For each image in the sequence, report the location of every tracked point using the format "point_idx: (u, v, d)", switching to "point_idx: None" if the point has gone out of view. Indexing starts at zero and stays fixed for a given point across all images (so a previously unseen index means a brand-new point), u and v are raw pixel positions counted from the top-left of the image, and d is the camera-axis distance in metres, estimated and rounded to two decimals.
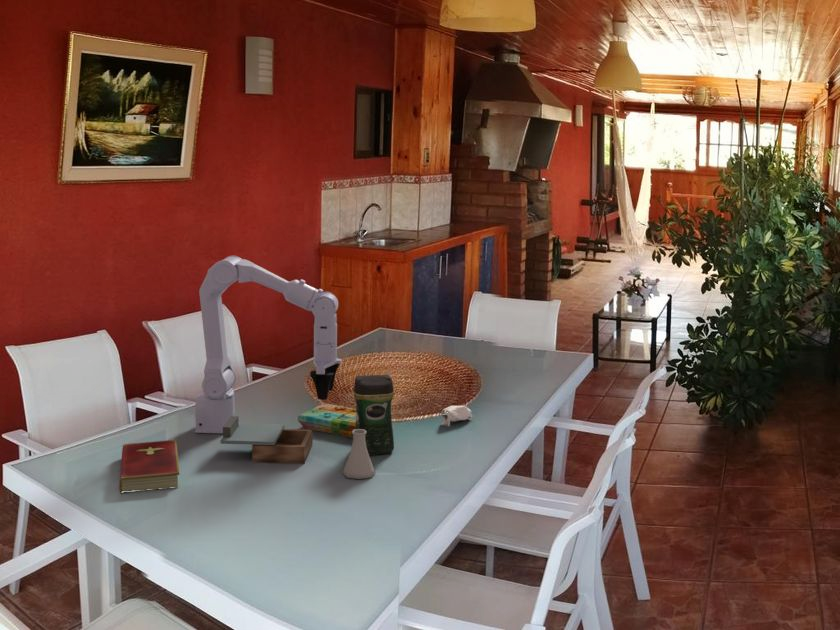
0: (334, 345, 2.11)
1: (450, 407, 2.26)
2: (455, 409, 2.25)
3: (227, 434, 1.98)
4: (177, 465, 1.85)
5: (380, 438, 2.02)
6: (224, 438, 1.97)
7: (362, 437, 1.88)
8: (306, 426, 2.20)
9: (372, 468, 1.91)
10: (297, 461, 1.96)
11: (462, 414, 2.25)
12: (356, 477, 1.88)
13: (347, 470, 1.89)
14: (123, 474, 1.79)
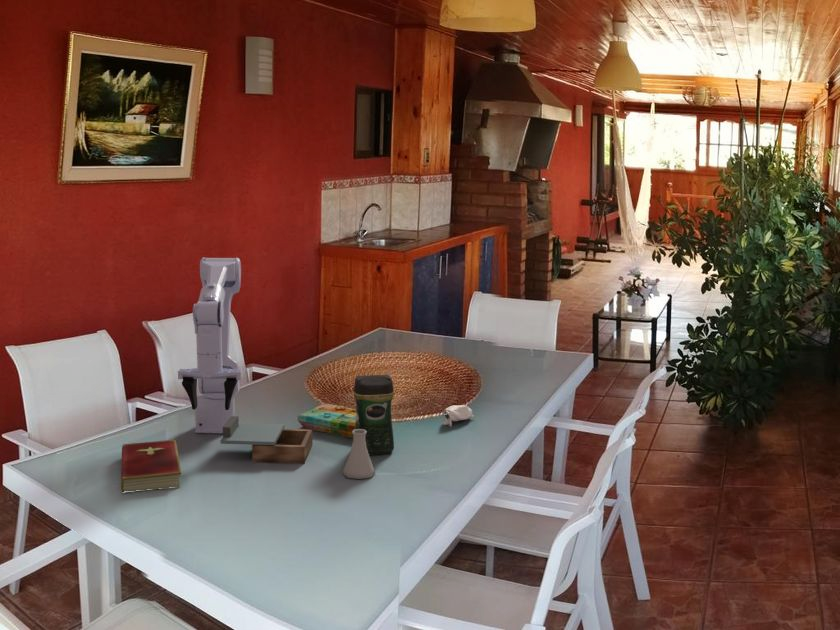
0: (201, 356, 1.96)
1: (451, 407, 2.26)
2: (456, 409, 2.25)
3: (227, 434, 1.98)
4: (178, 465, 1.85)
5: (380, 438, 2.02)
6: (224, 438, 1.97)
7: (362, 437, 1.88)
8: (306, 426, 2.20)
9: (372, 468, 1.91)
10: (297, 461, 1.96)
11: (463, 414, 2.26)
12: (356, 477, 1.88)
13: (347, 470, 1.89)
14: (125, 474, 1.79)
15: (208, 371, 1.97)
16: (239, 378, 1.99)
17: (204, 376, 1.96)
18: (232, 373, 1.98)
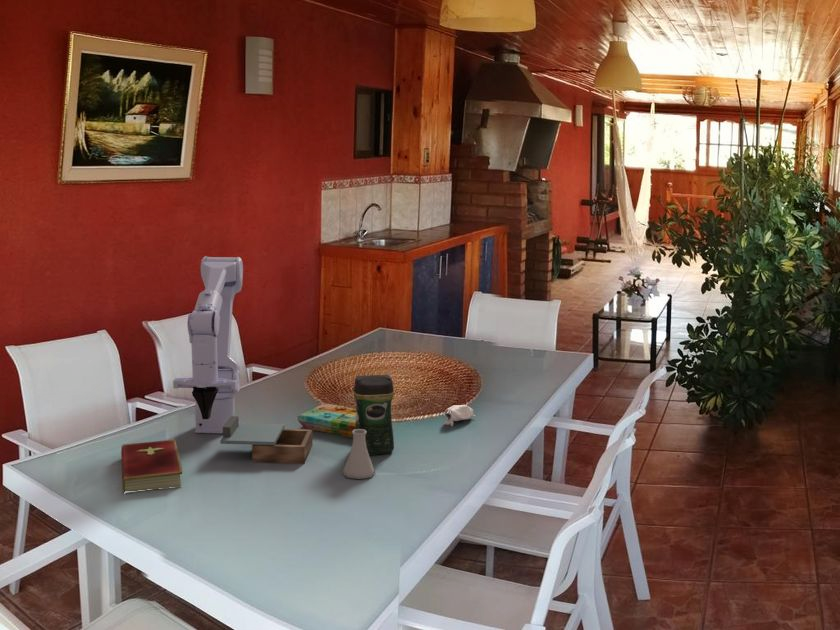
0: (196, 366, 1.96)
1: (453, 407, 2.26)
2: (458, 409, 2.25)
3: (227, 434, 1.98)
4: (179, 464, 1.85)
5: (380, 438, 2.02)
6: (224, 438, 1.97)
7: (362, 437, 1.88)
8: (306, 426, 2.20)
9: (372, 468, 1.91)
10: (297, 461, 1.96)
11: (464, 413, 2.26)
12: (356, 477, 1.88)
13: (347, 470, 1.89)
14: (126, 474, 1.79)
15: (203, 381, 1.96)
16: (234, 388, 1.99)
17: (198, 386, 1.96)
18: (227, 383, 1.98)
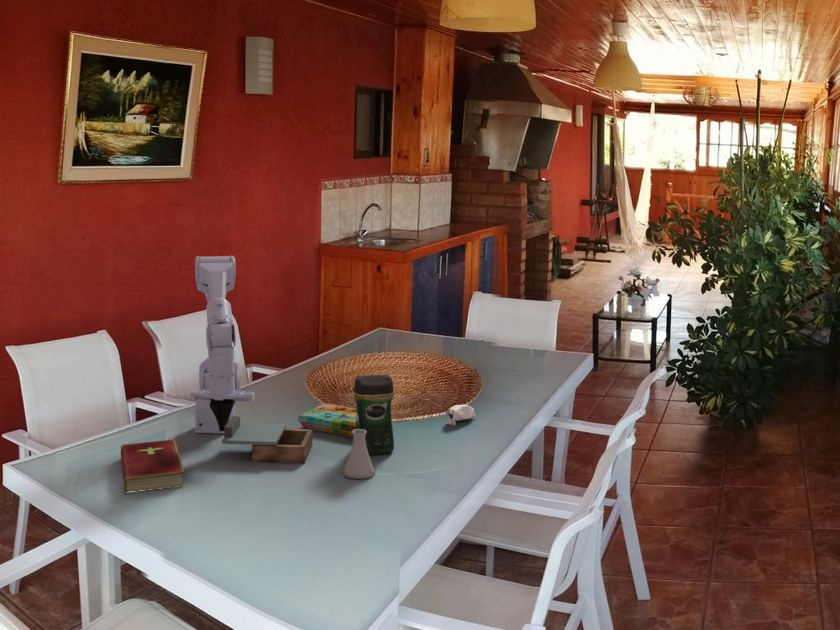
0: (213, 378, 1.97)
1: (455, 406, 2.26)
2: (460, 408, 2.26)
3: (229, 434, 1.98)
4: (180, 464, 1.85)
5: (380, 438, 2.02)
6: (226, 438, 1.97)
7: (362, 437, 1.88)
8: (306, 426, 2.20)
9: (372, 468, 1.91)
10: (297, 461, 1.96)
11: (466, 413, 2.26)
12: (356, 477, 1.88)
13: (347, 470, 1.89)
14: (128, 474, 1.79)
15: (220, 393, 1.97)
16: (251, 400, 1.99)
17: (216, 398, 1.96)
18: (244, 395, 1.99)
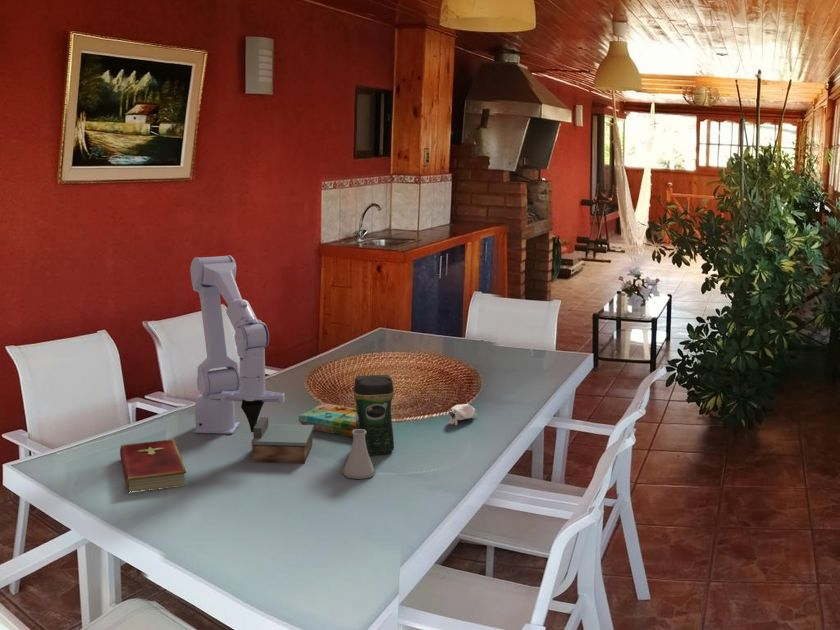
0: (244, 379, 1.96)
1: (456, 406, 2.27)
2: (461, 408, 2.26)
3: (258, 435, 1.98)
4: (182, 464, 1.85)
5: (380, 438, 2.02)
6: (255, 439, 1.97)
7: (362, 437, 1.88)
8: None
9: (372, 468, 1.91)
10: (297, 461, 1.96)
11: (468, 413, 2.27)
12: (356, 477, 1.88)
13: (347, 470, 1.89)
14: (129, 474, 1.79)
15: (251, 394, 1.97)
16: (281, 401, 1.99)
17: (247, 399, 1.96)
18: (275, 396, 1.98)
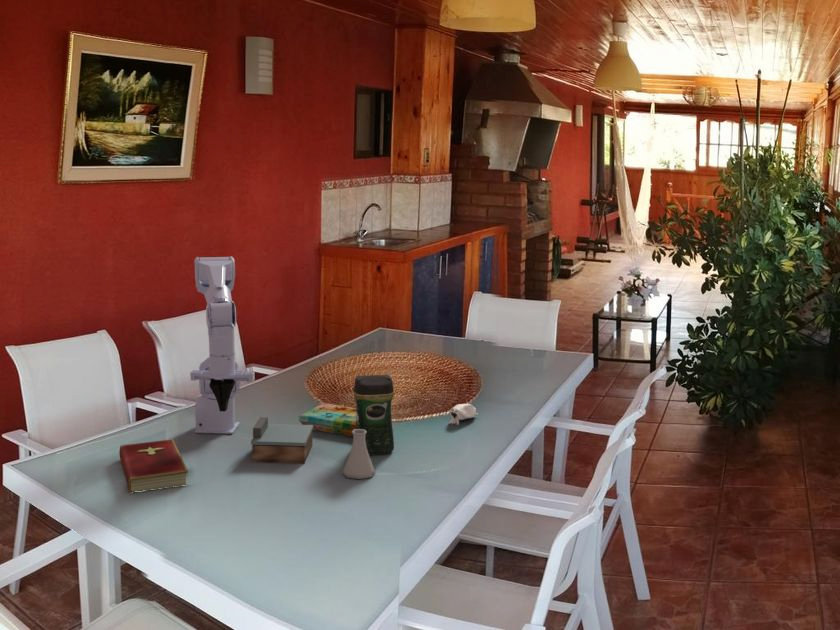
0: (213, 358, 1.96)
1: (457, 406, 2.27)
2: (463, 407, 2.26)
3: (257, 435, 1.98)
4: (183, 463, 1.86)
5: (380, 438, 2.02)
6: (254, 439, 1.97)
7: (362, 437, 1.88)
8: None
9: (372, 468, 1.91)
10: (297, 461, 1.96)
11: (469, 412, 2.27)
12: (356, 477, 1.88)
13: (347, 470, 1.89)
14: (131, 474, 1.79)
15: (220, 373, 1.96)
16: (251, 380, 1.98)
17: (216, 378, 1.95)
18: (244, 375, 1.98)
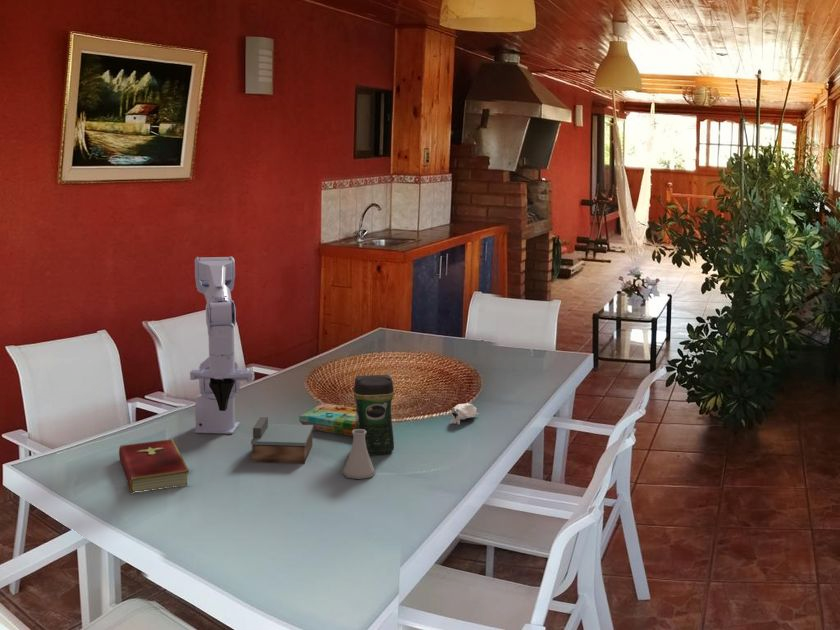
0: (213, 357, 1.96)
1: (458, 405, 2.27)
2: (464, 407, 2.27)
3: (257, 435, 1.98)
4: (184, 463, 1.86)
5: (380, 438, 2.02)
6: (254, 439, 1.97)
7: (362, 437, 1.88)
8: None
9: (372, 468, 1.91)
10: (297, 461, 1.96)
11: (470, 412, 2.28)
12: (356, 477, 1.88)
13: (347, 470, 1.89)
14: (132, 474, 1.79)
15: (220, 372, 1.96)
16: (251, 379, 1.98)
17: (216, 377, 1.95)
18: (244, 374, 1.98)
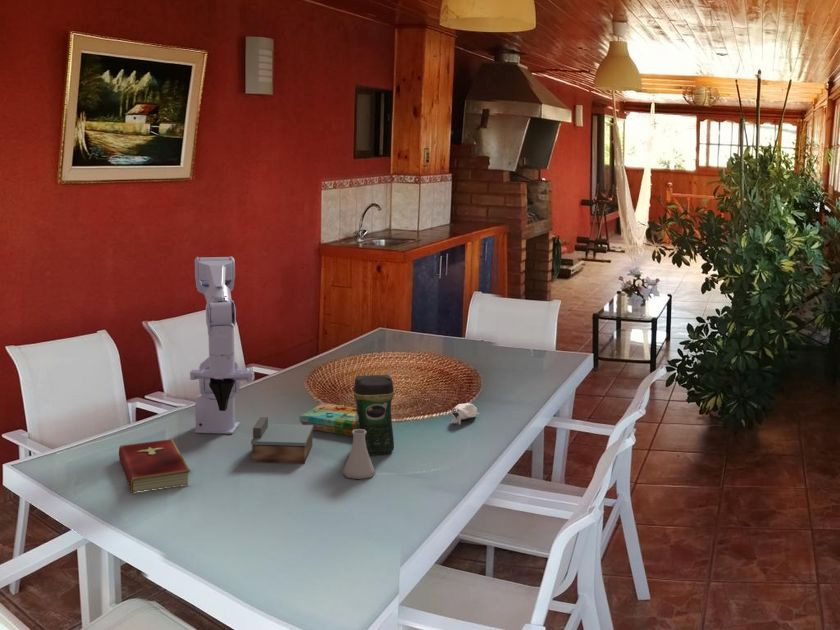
0: (213, 357, 1.96)
1: (459, 405, 2.27)
2: (464, 407, 2.27)
3: (257, 435, 1.98)
4: (184, 463, 1.86)
5: (380, 438, 2.02)
6: (254, 439, 1.97)
7: (362, 437, 1.88)
8: None
9: (372, 468, 1.91)
10: (297, 461, 1.96)
11: (471, 412, 2.28)
12: (356, 477, 1.88)
13: (347, 470, 1.89)
14: (133, 474, 1.79)
15: (220, 372, 1.96)
16: (251, 379, 1.98)
17: (216, 377, 1.95)
18: (244, 374, 1.98)
